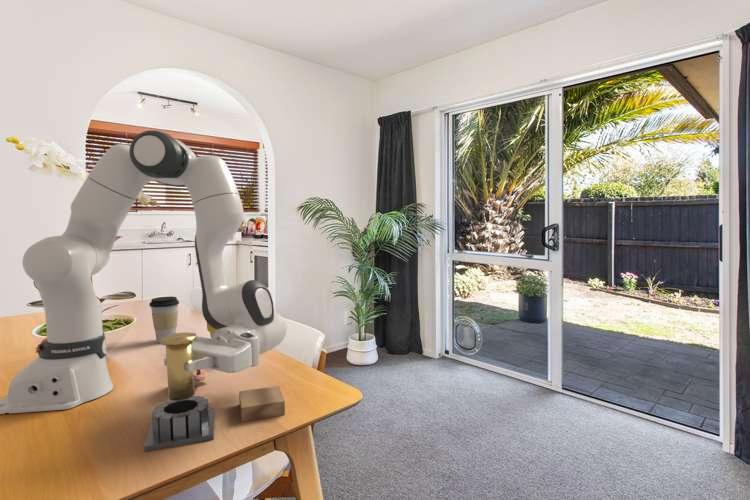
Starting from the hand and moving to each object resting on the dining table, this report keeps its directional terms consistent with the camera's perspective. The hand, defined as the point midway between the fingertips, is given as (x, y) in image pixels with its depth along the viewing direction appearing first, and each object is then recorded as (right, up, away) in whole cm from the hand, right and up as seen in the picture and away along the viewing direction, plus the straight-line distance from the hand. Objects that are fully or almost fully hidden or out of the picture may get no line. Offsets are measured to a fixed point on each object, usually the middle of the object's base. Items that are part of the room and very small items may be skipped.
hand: (176, 365), depth 83 cm
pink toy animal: (-8, -12, +23) cm, 28 cm away
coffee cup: (-34, -9, +65) cm, 74 cm away
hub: (0, -14, +2) cm, 14 cm away
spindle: (+1, -6, +1) cm, 7 cm away
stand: (+14, -13, +11) cm, 22 cm away
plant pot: (-11, -10, +56) cm, 58 cm away
